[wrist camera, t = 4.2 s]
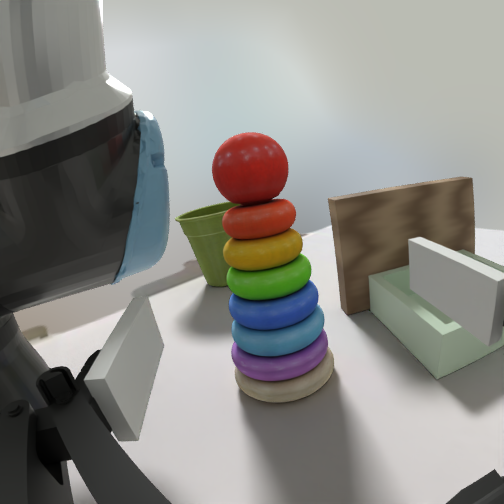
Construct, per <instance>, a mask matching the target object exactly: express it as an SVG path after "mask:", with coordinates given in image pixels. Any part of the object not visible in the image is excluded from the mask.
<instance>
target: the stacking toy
mask: <svg viewBox="0 0 504 504" xmlns="http://www.w3.org/2000/svg"><path fill="white" fill-rule="evenodd" d="M212 173H213V179H214V182H215V185H216V187H217V188H218V190H219V191H220V193H221V194H222V195H223V196H224V197H225V198H226V199H227V200H229V201H230V202H232V203H234V204H241V205H239V206H235V207H233V208H231V209H229V210H228V211H227V212H226V213H225V214H224V216H223V219H222V225H223V228H224V230H225V232H226V233H227V234H228V235H229V236H230V237H232V238H231V239H230V240H229V241H228V242H227V243H226V244H225V246H224V249H223V256H224V259H225V261H226V262H227V263H228V264H229V265H230V266H231V268H230V269H229V271H228V273H227V284H228V286H229V288H230V290H231V291H232V292H233V294H232V295H231V297H230V300H229V310H230V313H231V315H232V317H233V318H234V321H233V323H232V336H233V339H234V343H233V346H232V351H231V353H232V359H233V362H234V364H235V366H236V367H235V378H236V382H237V384H238V386H239V387H240V389H241V390H242V391H243V392H245V393H246V394H247V395H249V396H250V397H252V398H255V399H257V400H261V401H266V402H288V401H294V400H297V399H301V398H303V397H306V396H308V395H310V394H312V393H314V392H315V391H317V390H318V389H320V388H321V387H322V386H323V385H324V384H325V383H326V382H327V381H328V379H329V378H330V376H331V374H332V371H333V367H334V358H333V354H332V352H331V350H330V349H329V347H328V340H327V335H326V332H325V331H324V329H323V326H324V314H323V311H322V309H321V308H320V306H319V305H318V304H317V303H318V290H317V288H316V286H315V285H314V283H313V282H312V281H310V280H309V279H310V276H311V265H310V262H309V260H308V259H307V258H306V257H305V256H304V255H303V254H300V252H301V251H302V247H303V242H302V238H301V236H300V234H299V233H298V232H297V231H295V230H294V229H291V228H290V227H291V226H292V224H293V223H294V221H295V217H296V211H295V207H294V206H293V204H292V203H291V202H289V201H288V200H285V199H273V198H274V197H276V196H278V195H279V194H280V192H281V191H282V190H283V188H284V186H285V184H286V181H287V177H288V162H287V157H286V155H285V153H284V151H283V149H282V147H281V146H280V145H279V144H278V143H277V142H276V141H275V140H273V139H272V138H270V137H268V136H266V135H263V134H260V133H242V134H239V135H236V136H233V137H231V138H229V139H228V140H226V141H225V142H224V143H223V144H222V145H221V146H220V148H219V149H218V151H217V152H216V154H215V157H214V160H213V164H212Z"/></svg>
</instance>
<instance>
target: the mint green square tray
mask: <svg viewBox="0 0 504 504" xmlns="http://www.w3.org/2000/svg"><path fill="white" fill-rule="evenodd" d="M456 252H458V253H460V254H463V255H465V256H467V257H470V258H472V259H474V260H476V261H479V262H481V263H483V264H485V265H488V266H490V267H492V268H494V269H496V270H499V271H501V272H503V273H504V266H501V265H499V264H497V263H494V262H492V261H490V260H487V259H485V258H483V257H480V256H478V255H476V254H473V253H471V252H468V251H466V250H463V249H462V250H459V251H456ZM368 277H369V293H370V311H371V312H372V313H373V314H374V315H375V316H376V317H377V318H378V319H379V320H380V321H381V322H382V323H383V324H384V325H385V326H386V327H387V328H388V329H389V330H390V331H391V332H392V333H393V334H394V335H395V336H396V337H397V338H398V339H399V340H400V341H401V342H402V343H403V345H404V346H405V347H406V348H407V349H408V350H409V351H410V352H411V353H412V354H413V355H414V356H415V357H416V358H417V359H418V360H419V361H420V362H421V363H422V364H423V365H424V366H425V368H426V369H427V370H428V371H429V372H430V373H431V374H432V375H433V376H434V377H435V378H436V379H439V378H441V377H444V376H446V375H448V374H450V373H452V372H454V371H456V370H458V369H460V368H462V367H465V366H467V365H468V364H470V363H472V362H474V361H476V360H478V359H480V358H482V357H484V356H486V355H488V354H489V353H491V352H493V351H495V350H497V349H498V348H500V347H502V346H504V326H503V331H502V336H501V340H500V341H498V342H496V343H495V344H493V345H491V346H489V347H488V346H487V345H485V344H484V343H483V342H481V341H480V340H479V339H478V338H476V337H475V336H474V335H472V334H471V333H470V332H468V331H467V330H466V329H464V328H463V327H462V326H460V325H459V324H458V323H456V322H455V321H454V320H452V319H451V318H450V317H448V316H447V315H445V314H444V313H443V312H441V311H440V310H439V309H437V308H436V307H435V306H433V305H432V304H430V303H429V302H428V301H426V300H425V299H423V298H422V297H421V296H419V295H418V294H416V293H415V292H414V291H412V290H411V289H410V270H409V265H407V266H403V267H399V268H396V269H392V270H388V271H385V272H381V273H377V274H373V275H369V276H368Z"/></svg>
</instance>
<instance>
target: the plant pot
mask: <svg viewBox="0 0 504 504" xmlns="http://www.w3.org/2000/svg"><path fill="white" fill-rule="evenodd" d="M239 205H241V204H234V203H232V202H224V203H219V204H215V205H211V206H206V207H203V208H199V209H196V210H193V211H190V212H187V213H184V214H182V215H180V216H178V217H176V218H175V220H176V221H178V222H179V223H180V225H181V227H182V229H183V232H184V234H185V235H186V236H187V238H188V240H189V242H190V244H191V247H192V249H193V251H194V254H195V256H196V258H197V261H198V263H199V265H200V267H201V270H202V272H203V274H204V277H205V279H206V281H207V283H208V284H209V285H211V286H219V287H223V286H227V285H228V284H227V273H228V271H229V269H230V268H231V266H230V265H229V264H228V263H227V262H226V261H225V259H224V256H223V249H224V246H225V244H226V243H227V242H228V241H229V240H230V239H231V238H232V237H230V236H229V235H228V234H227V233H226V232H225V230H224V228H223V225H222V219H223V216H224V214H225V213H226V212H227V211H228V210H229V209H231V208H233V207H235V206H239Z"/></svg>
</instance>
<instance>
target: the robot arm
mask: <svg viewBox="0 0 504 504" xmlns="http://www.w3.org/2000/svg"><path fill="white" fill-rule="evenodd" d="M169 210H170V208H169V186H168V175H167V170H166V168H165V166H164V145H163V140H162V135H161V132H160V129H159V126H158V123H157V120H156V119H155V117H154V116H153V115H152V114H151V113H149V112H143V111H141V110H138V111H134V108H133V98H132V91H131V90H130V89H129V88H127V87H126V86H125V85H123V84H122V83H120V82H119V81H117V80H116V79H114V78H113V77H111V76H110V74H109V73H108V72H107V70H106V65H105V52H104V38H103V18H102V0H0V504H74V503H73V498H72V492H71V487H70V481H69V475H68V468H67V460H73V462H74V464H75V466H76V468H77V470H78V471H79V473H80V475H81V477H82V479H83V480H84V482H85V484H86V486H87V487H88V489H89V491H90V492H91V494H92V496H93V497H94V499H95V501H96V502H97V504H171V503H170V502H169V501H168V500H167V499H166V498H165V497H164V495H163V494H162V493H161V492H160V491H159V490H158V489H157V488H156V487H155V486H154V485H153V484H152V483H151V482H150V481H149V479H148V478H147V477H146V476H145V475H144V474H143V473H142V472H141V470H140V469H139V468H138V467H137V466H136V465H135V463H134V462H133V461H132V460H131V459H130V457H129V456H128V455H127V454H126V453H125V451H124V450H123V449H122V448H121V446H120V445H119V444H118V443H117V441H116V440H115V439H114V437H113V436H112V435H111V431H113V433H114V434H115V436H116V438H117V439H118V441H138V440H139V436H140V432H141V428H142V424H143V420H144V417H145V413H146V409H147V405H148V401H149V398H150V394H151V390H152V387H153V383H154V379H155V376H156V372H157V369H158V365H159V362H160V358H161V355H162V351H163V348H164V343H163V340H162V338H161V335H160V332H159V329H158V326H157V323H156V320H155V317H154V314H153V311H152V308H151V305H150V302H149V299H148V296H144V297H138V298H133V299H132V301H131V303H130V304H129V306H128V307H127V309H126V310H125V312H124V314H123V315H122V317H121V318H120V320H119V322H118V323H117V325H116V326H115V328H114V330H113V331H112V333H111V335H110V336H109V338H108V340H107V341H106V343H105V345H104V346H103V348H102V350H97V351H96V352H94V353H93V354H92V355H91V356H90V357H89V358H88V359H87V361H86V363H85V364H84V365H85V366H83V368H82V369H81V372H80V373H79V374H78V376H77V377H76V379H74V377H73V375H72V373H71V371H70V369H69V368H67V367H63V366H60V367H55V368H52V369H51V368H49V367H48V365H47V364H46V363H45V361H44V360H43V359H42V357H41V356H40V355H39V354H38V352H37V351H36V350H35V349H34V348H33V347H32V345H31V344H30V343H29V342H28V341H27V339H26V338H25V337H24V336H23V334H22V332H21V330H20V329H19V326H18V324H17V322H16V320H15V317H14V314H13V312H17V311H20V310H23V309H26V308H30V307H33V306H36V305H40V304H43V303H46V302H50V301H53V300H56V299H60V298H63V297H66V296H70V295H73V294H77V293H80V292H83V291H87V290H90V289H94V288H97V287H100V286H104V285H107V284H111V285H113V284H115V283H118V282H119V281H120V280H122V278H125V277H127V276H130V275H133V274H136V273H139V272H141V271H144V270H147V269H149V268H151V267H152V266H154V265H155V264H156V263H157V262H158V261H159V260H160V259H161V257H162V256H163V254H164V251H165V248H166V245H167V241H168V234H169V216H170V213H169V212H170V211H169ZM408 245H409V270H410V289H411V290H412V291H414V292H415V293H416V294H418V295H419V296H421V297H422V298H423V299H425V300H426V301H428V302H429V303H430V304H432V305H433V306H435V307H436V308H437V309H439V310H440V311H441V312H443V313H444V314H445V315H447V316H448V317H450V318H451V319H452V320H454V321H455V322H456V323H458V324H459V325H460V326H462V327H463V328H464V329H466V330H467V331H468V332H470V333H471V334H472V335H474V336H475V337H476V338H478V339H479V340H480V341H481V342H483V343H484V344H485V345H487V346H488V347H489V346H491V345H493V344H495V343H496V342H498V341H500V340H501V336H502V331H503V326H504V273H503V272H501V271H499V270H496V269H494V268H492V267H490V266H488V265H485V264H483V263H481V262H479V261H476V260H474V259H472V258H470V257H467V256H465V255H463V254H460V253H458V252H456V251H453V250H451V249H449V248H446V247H444V246H442V245H439V244H437V243H434V242H432V241H429V240H427V239H424V238H422V237H417V238H412V239H408ZM446 504H504V476H502V477H500V475H499V474H498V473H497V472H496V470H495V469H494V470H493V471H491V472H490V473H488V474H487V475H485V476H484V477H482V478H480V479H479V480H477V481H476V482H474V483H472V484H471V485H469V486H467V487H466V488H464V489H462V490H461V491H460V492H459V493H458V494H456V495H455V496H454V497H453V498H452V499H451V500H450V501H448V502H447V503H446Z"/></svg>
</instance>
